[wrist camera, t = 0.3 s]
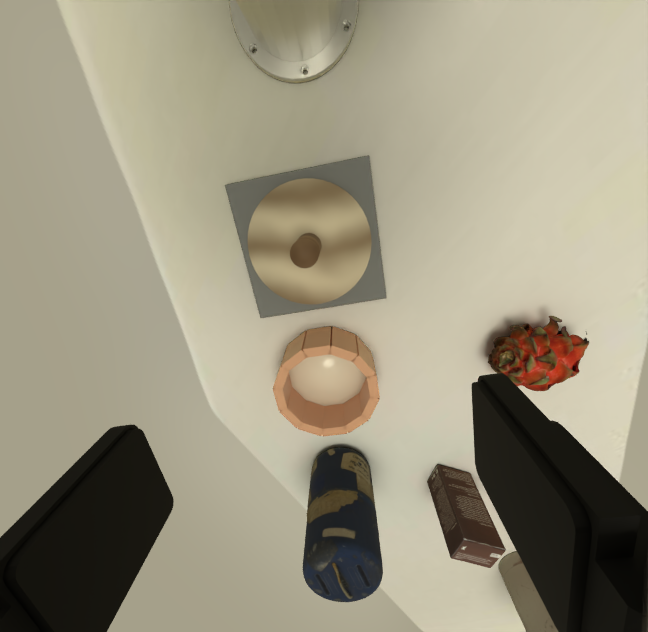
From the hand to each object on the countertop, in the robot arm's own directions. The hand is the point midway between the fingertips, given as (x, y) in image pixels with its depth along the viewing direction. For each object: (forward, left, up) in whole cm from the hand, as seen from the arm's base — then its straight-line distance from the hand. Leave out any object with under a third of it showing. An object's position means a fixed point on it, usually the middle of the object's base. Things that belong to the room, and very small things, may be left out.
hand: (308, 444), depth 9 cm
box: (+40, +13, -34) cm, 54 cm away
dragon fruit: (+17, +24, -34) cm, 45 cm away
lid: (-1, -2, -33) cm, 33 cm away
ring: (+17, -3, -34) cm, 38 cm away
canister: (+35, -4, -34) cm, 49 cm away
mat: (-1, -2, -34) cm, 34 cm away
